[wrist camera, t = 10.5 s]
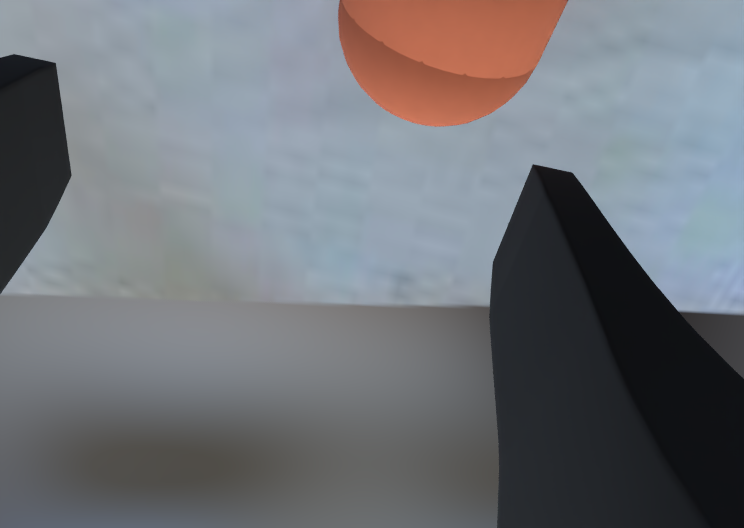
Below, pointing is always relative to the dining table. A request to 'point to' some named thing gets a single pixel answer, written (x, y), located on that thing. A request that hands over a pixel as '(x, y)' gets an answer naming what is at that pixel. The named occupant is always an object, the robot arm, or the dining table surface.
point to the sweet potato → (444, 53)
